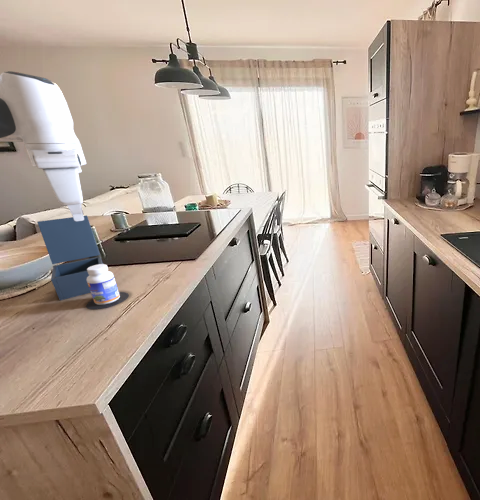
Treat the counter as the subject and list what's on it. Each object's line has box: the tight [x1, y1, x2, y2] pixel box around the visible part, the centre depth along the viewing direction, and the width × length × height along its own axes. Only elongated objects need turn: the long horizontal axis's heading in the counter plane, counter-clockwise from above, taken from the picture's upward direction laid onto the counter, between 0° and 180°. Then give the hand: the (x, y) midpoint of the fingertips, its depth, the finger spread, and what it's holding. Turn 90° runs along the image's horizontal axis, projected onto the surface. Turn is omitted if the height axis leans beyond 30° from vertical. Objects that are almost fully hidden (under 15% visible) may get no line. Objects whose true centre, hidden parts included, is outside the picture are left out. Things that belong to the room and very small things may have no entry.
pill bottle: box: [87, 263, 120, 305], centre depth 75 cm, size 5×5×10 cm
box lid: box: [36, 214, 101, 265], centre depth 84 cm, size 12×11×1 cm
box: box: [50, 256, 104, 301], centre depth 83 cm, size 12×11×7 cm
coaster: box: [85, 291, 130, 311], centre depth 77 cm, size 9×9×1 cm
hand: (79, 218), depth 68 cm, fingers open, 4 cm apart
